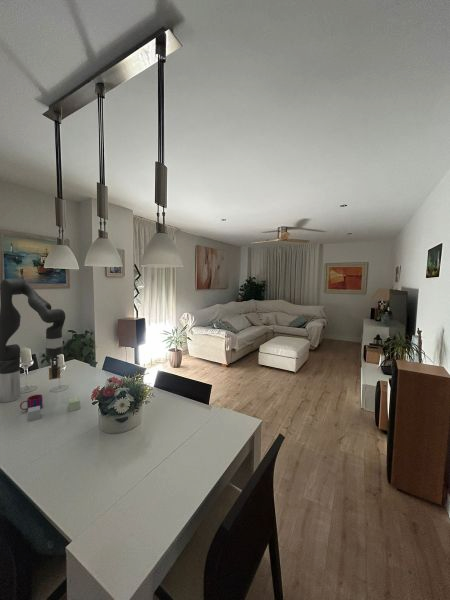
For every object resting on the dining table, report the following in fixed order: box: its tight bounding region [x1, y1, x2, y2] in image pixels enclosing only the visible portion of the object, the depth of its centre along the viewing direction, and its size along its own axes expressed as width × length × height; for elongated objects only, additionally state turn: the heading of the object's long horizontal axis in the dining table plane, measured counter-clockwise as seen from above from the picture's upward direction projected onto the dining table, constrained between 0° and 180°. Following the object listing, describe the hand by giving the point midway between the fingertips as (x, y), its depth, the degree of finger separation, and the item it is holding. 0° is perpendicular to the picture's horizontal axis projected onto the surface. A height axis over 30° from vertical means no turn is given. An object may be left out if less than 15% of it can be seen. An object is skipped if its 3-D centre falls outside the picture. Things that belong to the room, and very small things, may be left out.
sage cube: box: [68, 396, 81, 412], centre depth 137 cm, size 5×5×5 cm
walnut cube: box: [48, 365, 61, 380], centre depth 130 cm, size 5×5×5 cm
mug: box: [19, 394, 43, 411], centre depth 134 cm, size 7×10×7 cm
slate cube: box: [27, 406, 41, 422], centre depth 126 cm, size 5×5×5 cm
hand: (54, 376), depth 131 cm, fingers closed on walnut cube, 5 cm apart
